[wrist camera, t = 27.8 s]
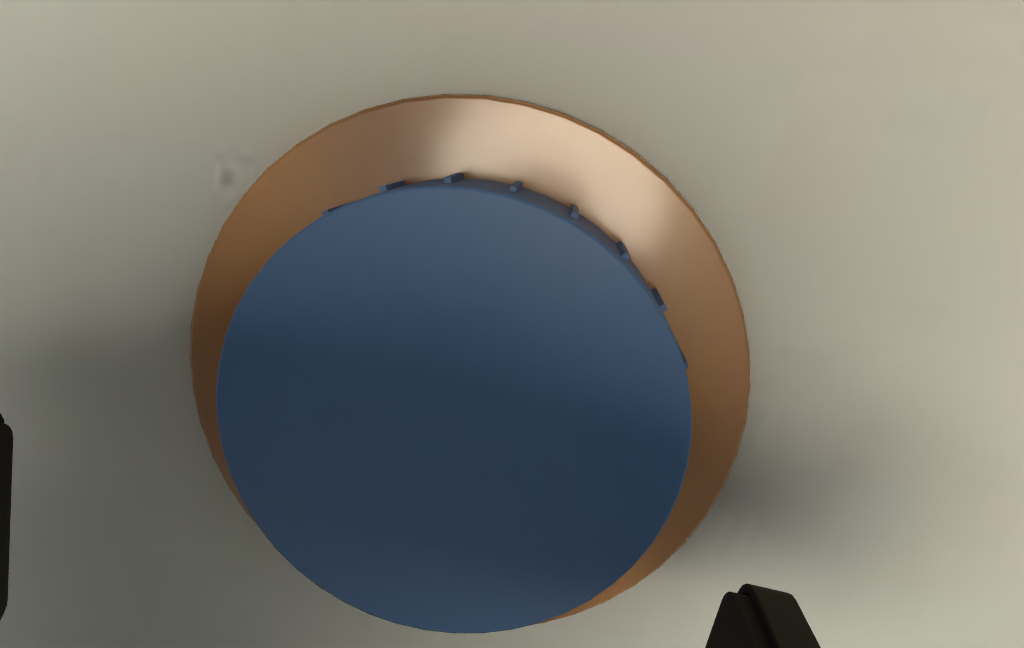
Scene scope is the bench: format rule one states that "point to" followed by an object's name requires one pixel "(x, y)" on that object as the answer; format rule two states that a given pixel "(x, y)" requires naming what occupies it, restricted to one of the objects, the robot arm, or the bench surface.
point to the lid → (455, 405)
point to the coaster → (543, 169)
